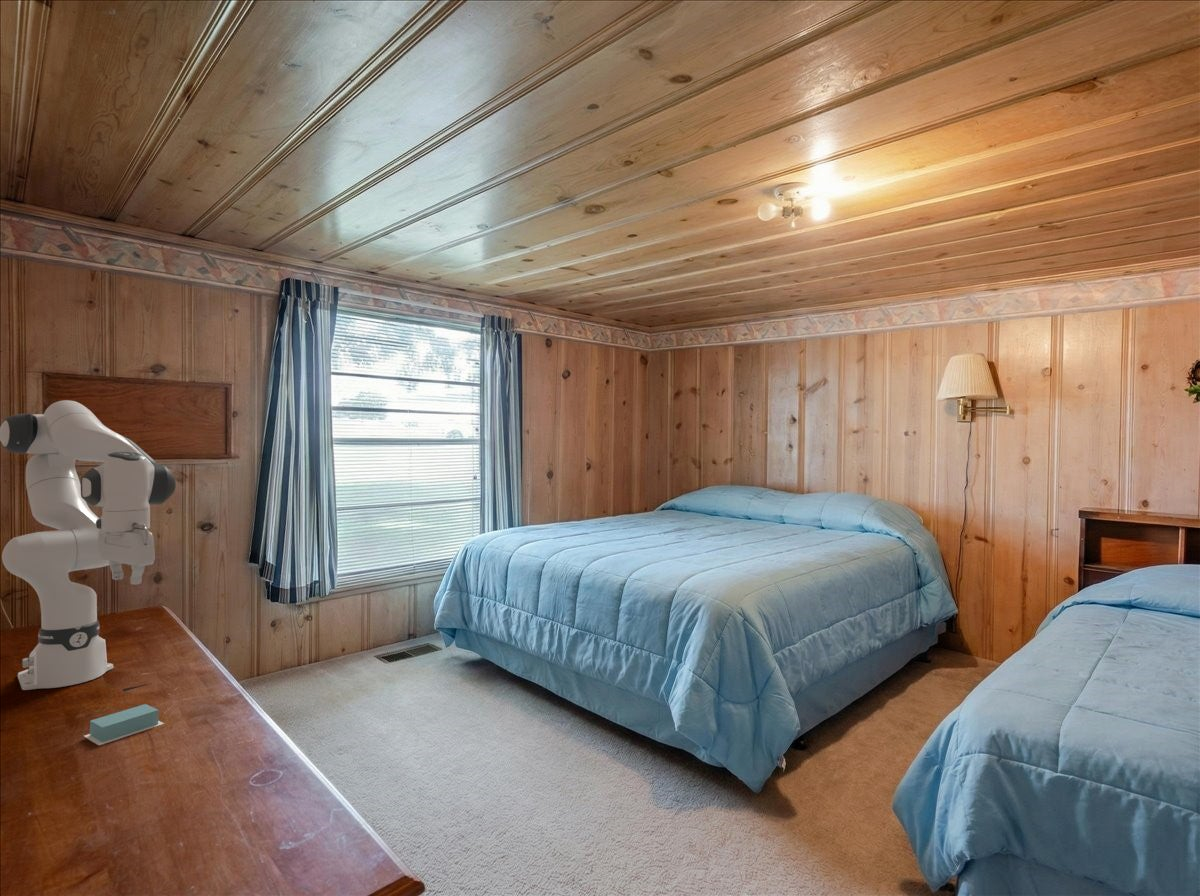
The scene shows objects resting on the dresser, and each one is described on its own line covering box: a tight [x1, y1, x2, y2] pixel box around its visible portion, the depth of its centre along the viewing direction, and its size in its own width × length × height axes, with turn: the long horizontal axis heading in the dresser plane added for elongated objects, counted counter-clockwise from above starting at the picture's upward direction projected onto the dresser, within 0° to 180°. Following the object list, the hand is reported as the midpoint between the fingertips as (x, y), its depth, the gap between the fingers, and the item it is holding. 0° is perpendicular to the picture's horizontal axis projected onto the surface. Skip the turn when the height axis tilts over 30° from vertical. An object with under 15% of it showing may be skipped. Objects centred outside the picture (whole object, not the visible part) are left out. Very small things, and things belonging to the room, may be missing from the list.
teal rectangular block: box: [89, 703, 159, 742], centre depth 132 cm, size 10×6×3 cm, turn 148°
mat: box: [83, 720, 165, 746], centre depth 136 cm, size 17×18×1 cm
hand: (126, 581), depth 145 cm, fingers open, 8 cm apart
